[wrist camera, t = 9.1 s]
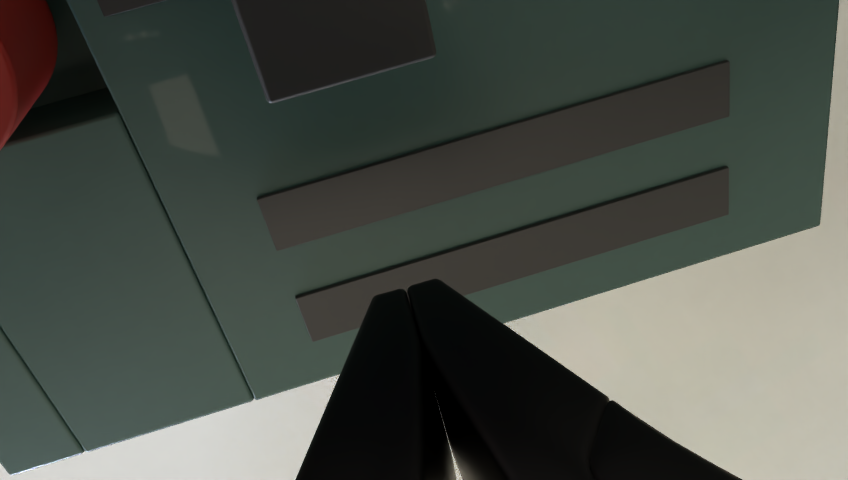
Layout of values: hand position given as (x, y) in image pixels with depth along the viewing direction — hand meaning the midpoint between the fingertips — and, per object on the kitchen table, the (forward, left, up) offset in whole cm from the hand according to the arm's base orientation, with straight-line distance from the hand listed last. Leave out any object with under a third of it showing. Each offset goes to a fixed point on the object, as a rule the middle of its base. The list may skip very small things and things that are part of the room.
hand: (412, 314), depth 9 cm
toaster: (+1, -2, -12) cm, 13 cm away
